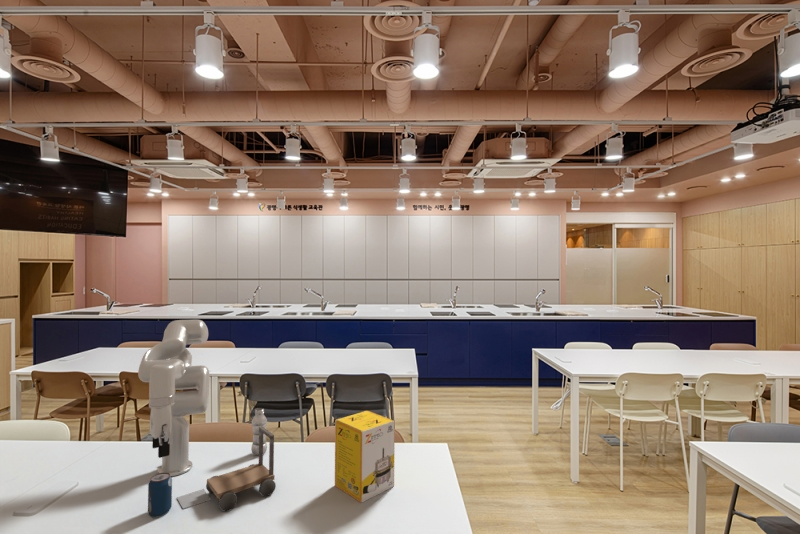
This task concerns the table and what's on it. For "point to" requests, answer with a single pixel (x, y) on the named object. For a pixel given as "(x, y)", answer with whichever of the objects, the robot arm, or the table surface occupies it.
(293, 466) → the table surface
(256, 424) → the plastic bottle
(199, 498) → the mat
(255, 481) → the trolley
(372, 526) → the table surface
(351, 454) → the packaging box
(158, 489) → the soda can
